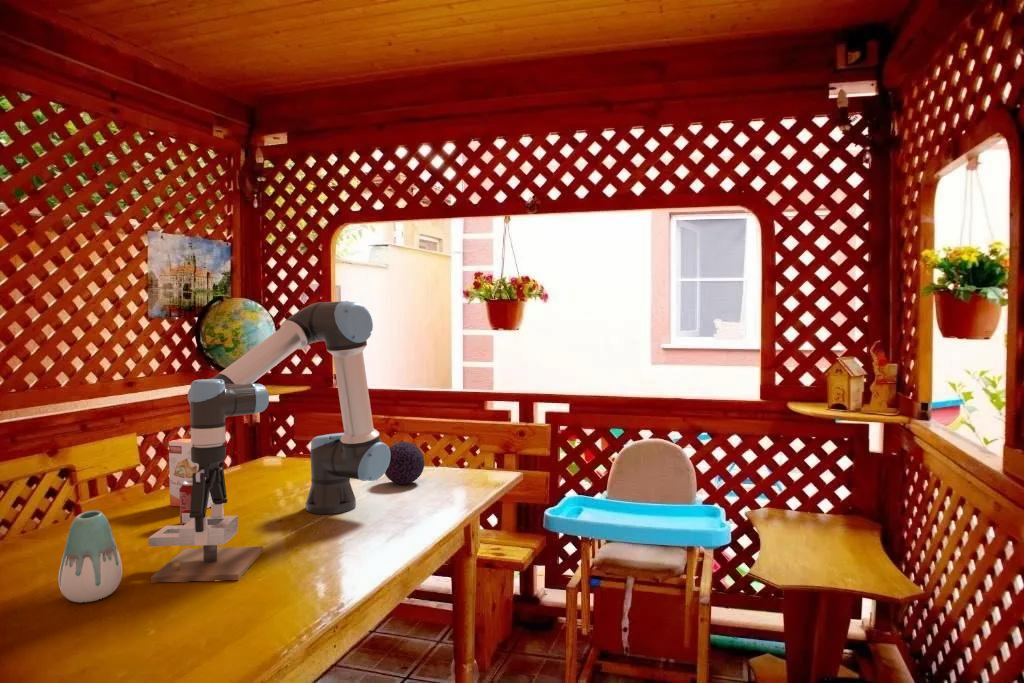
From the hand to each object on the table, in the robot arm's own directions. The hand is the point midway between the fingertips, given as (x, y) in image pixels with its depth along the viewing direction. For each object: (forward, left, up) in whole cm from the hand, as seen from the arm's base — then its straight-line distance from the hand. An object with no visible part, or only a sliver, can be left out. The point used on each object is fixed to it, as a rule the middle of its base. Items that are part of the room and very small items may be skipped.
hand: (209, 537), depth 164 cm
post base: (0, 0, -7) cm, 7 cm away
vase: (+19, +16, -7) cm, 26 cm away
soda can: (+18, -37, -7) cm, 42 cm away
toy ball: (-39, -80, -7) cm, 89 cm away
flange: (+3, 0, 0) cm, 4 cm away
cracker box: (+25, -56, -7) cm, 62 cm away
